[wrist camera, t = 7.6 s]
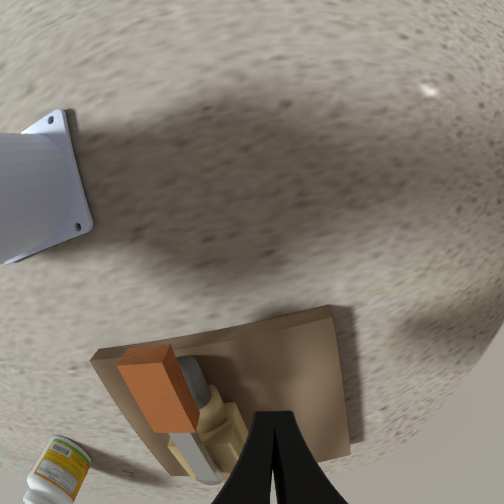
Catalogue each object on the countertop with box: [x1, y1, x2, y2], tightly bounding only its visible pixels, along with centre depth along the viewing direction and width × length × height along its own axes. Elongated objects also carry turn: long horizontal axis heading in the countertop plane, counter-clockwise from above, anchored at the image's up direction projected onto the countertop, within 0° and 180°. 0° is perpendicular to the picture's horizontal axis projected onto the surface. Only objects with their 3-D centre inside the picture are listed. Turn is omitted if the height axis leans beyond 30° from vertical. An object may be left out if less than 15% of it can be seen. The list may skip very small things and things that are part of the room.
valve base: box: [90, 305, 351, 483], centre depth 18 cm, size 16×14×5 cm
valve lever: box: [117, 344, 223, 485], centre depth 13 cm, size 10×2×1 cm, turn 12°
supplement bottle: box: [23, 436, 91, 504], centre depth 19 cm, size 5×5×10 cm
